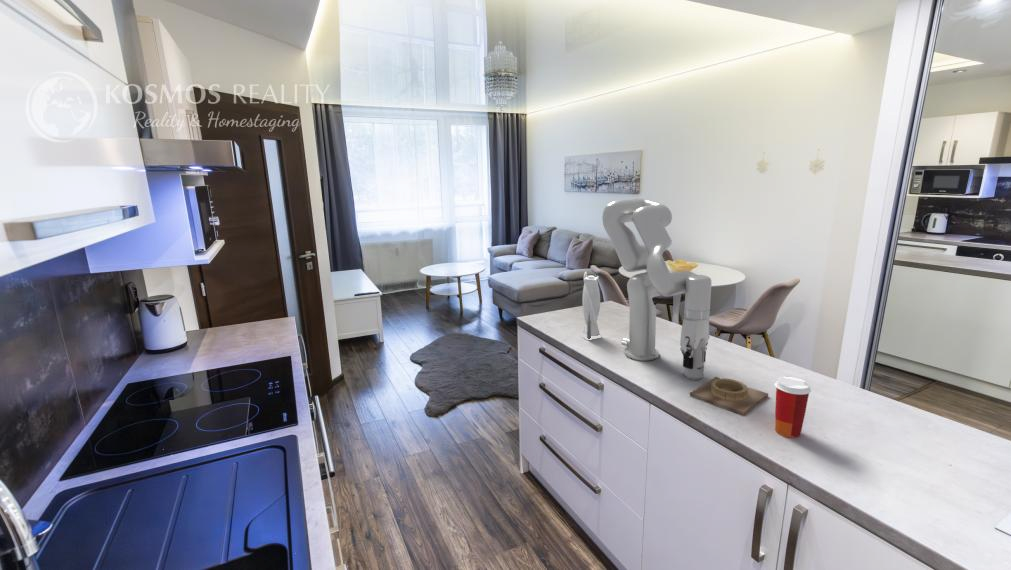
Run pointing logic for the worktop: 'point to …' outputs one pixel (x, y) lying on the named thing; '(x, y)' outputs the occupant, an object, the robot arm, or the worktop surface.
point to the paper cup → (790, 405)
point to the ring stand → (729, 395)
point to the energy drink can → (696, 362)
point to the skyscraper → (591, 305)
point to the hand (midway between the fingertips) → (694, 363)
